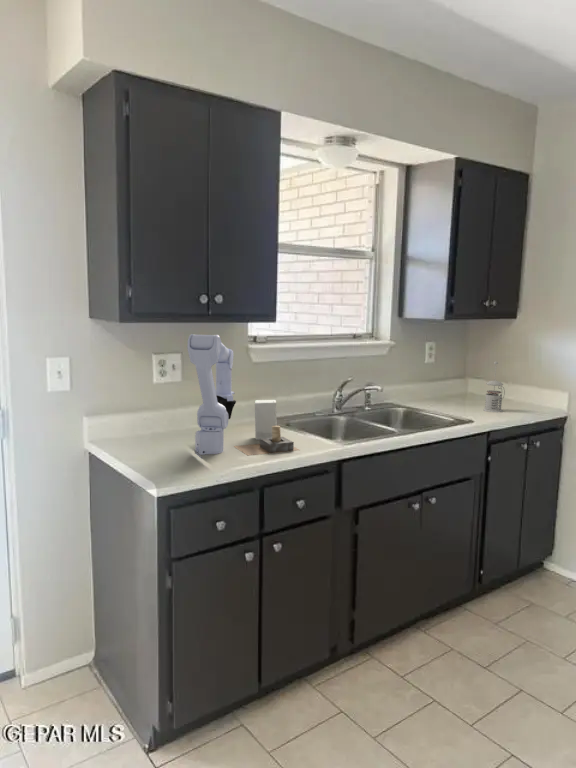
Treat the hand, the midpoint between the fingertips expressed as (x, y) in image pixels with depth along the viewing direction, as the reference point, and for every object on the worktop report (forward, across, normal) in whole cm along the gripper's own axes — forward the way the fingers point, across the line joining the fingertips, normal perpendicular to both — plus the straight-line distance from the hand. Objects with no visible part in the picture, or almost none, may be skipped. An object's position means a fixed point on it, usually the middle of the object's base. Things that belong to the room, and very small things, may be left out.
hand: (223, 417), depth 219 cm
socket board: (+10, -16, -11) cm, 21 cm away
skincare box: (+11, 0, -17) cm, 20 cm away
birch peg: (+9, -18, -14) cm, 24 cm away
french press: (+12, +18, -151) cm, 152 cm away
